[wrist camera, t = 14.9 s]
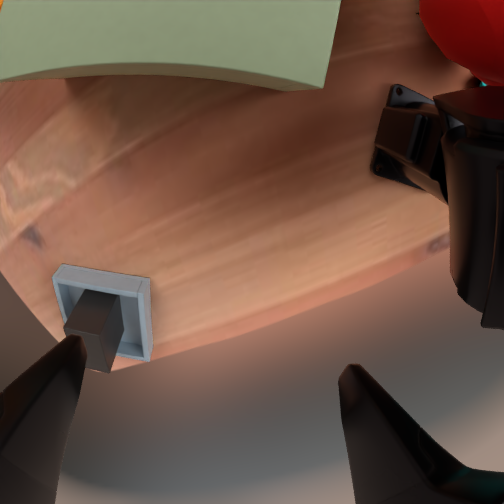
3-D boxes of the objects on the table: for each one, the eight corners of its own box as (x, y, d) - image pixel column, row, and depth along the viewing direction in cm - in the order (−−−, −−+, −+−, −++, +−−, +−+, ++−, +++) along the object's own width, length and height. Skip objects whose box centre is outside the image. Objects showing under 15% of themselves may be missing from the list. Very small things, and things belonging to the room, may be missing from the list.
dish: (150, 277, 21) (143, 294, 19) (153, 346, 25) (149, 362, 23) (62, 263, 20) (51, 276, 18) (78, 330, 24) (71, 345, 22)
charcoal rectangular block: (119, 290, 21) (99, 336, 17) (124, 330, 23) (109, 374, 19) (86, 284, 21) (62, 327, 16) (94, 324, 23) (76, 365, 19)
